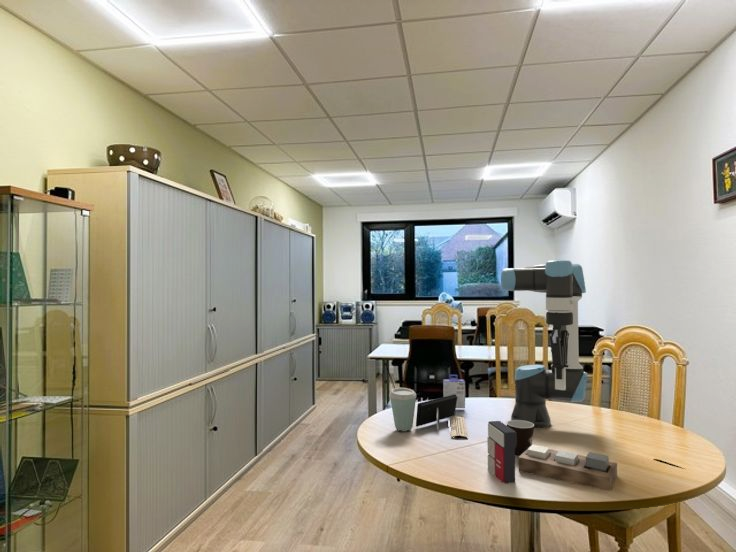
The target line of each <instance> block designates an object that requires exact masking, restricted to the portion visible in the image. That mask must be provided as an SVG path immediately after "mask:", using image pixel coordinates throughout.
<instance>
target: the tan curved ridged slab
mask: <svg viewBox="0 0 736 552" xmlns="http://www.w3.org/2000/svg"><path fill="white" fill-rule="evenodd" d="M449 420H450V427H451V433H450V438H451V437H452V438H451V439H454V438H453V437H454V436H455V437H458V436H459V437H464V438H465V437H466V438H467V437H468V433H467V432H468V431H467V425H466V420H465V417H462V416H452V417H449ZM468 438H469V437H468Z"/></svg>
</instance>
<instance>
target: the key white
mask: <svg viewBox="0 0 736 552" xmlns="http://www.w3.org/2000/svg"><path fill="white" fill-rule="evenodd" d="M549 449H550V447H546V446H541V445H538V444H532V446H530V447H529V448H528V449H527V455H529V456H533V457H538V458H542V459H547V458H548V457H549V456H550V450H549Z"/></svg>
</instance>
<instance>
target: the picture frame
mask: <svg viewBox="0 0 736 552" xmlns="http://www.w3.org/2000/svg"><path fill="white" fill-rule="evenodd" d="M456 403H457V396H456V394H454V395H450V396H446V397H443V396H442V397H438V398H434V399H432V400H425V401H422V402H419V403H418V402H417V404H416V405H417V407H416V418H415V427H417V428H418V427H421V426H425V425H427V424H431V423H434V422H436V430H437V431H438V430H439V427H440V421H441V420H444V419H448V418H451V417H455V415H456V414H455V413H456V409H457V408H456Z"/></svg>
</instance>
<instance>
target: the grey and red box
mask: <svg viewBox="0 0 736 552" xmlns="http://www.w3.org/2000/svg"><path fill="white" fill-rule="evenodd" d="M487 436H488V437H487V441H486V442H487V470H488V471H489V473H491V474H492V475H493V476H495V478H497V480H499V481H500V482H501V483H502V484H514V483H515V484H516V456H515V448H516V446H517V433H516V432H515V431H514V430H512V429H511V428H509V427H508V426H507V424H505V423H504V422H502V421H501V420H493V421H492V420H491V421H488V423H487Z"/></svg>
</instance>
